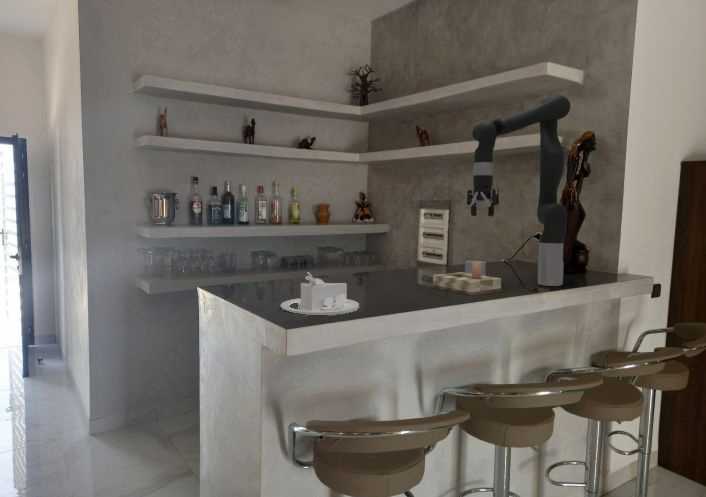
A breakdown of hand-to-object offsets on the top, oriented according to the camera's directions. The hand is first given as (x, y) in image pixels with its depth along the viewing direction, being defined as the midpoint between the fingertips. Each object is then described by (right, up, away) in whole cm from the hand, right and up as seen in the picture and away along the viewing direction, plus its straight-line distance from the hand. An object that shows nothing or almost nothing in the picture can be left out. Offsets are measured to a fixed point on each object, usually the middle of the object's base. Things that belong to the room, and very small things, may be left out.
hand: (482, 216), depth 202 cm
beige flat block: (-7, -29, -5) cm, 30 cm away
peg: (-4, -28, -9) cm, 29 cm away
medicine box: (+1, -27, +15) cm, 31 cm away
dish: (-61, -32, -39) cm, 79 cm away
